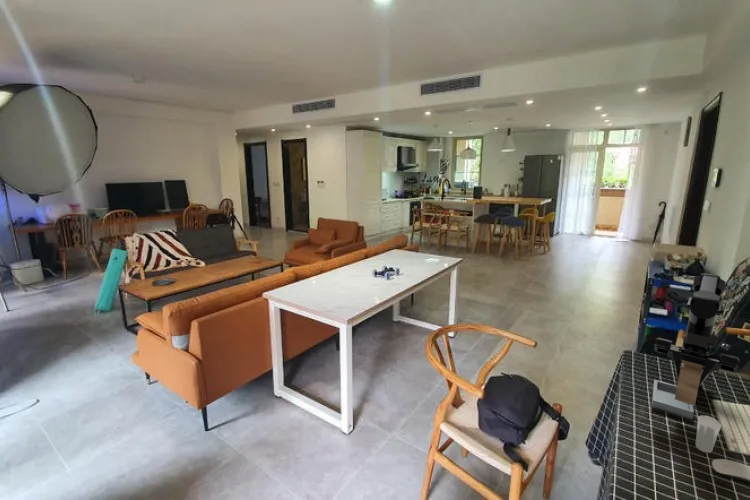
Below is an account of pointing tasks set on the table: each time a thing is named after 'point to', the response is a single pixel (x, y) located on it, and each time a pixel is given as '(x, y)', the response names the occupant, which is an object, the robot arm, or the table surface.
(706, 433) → the milkshake
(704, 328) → the robot arm
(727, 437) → the table surface
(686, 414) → the tray
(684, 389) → the block
